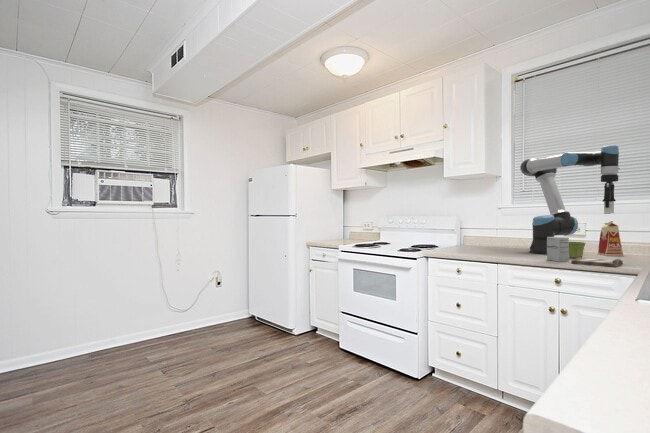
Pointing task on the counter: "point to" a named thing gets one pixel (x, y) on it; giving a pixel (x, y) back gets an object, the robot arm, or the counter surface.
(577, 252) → the plant pot
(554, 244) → the supplement box
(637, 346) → the counter surface
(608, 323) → the counter surface
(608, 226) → the milk carton
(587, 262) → the brown square frame
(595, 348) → the counter surface
